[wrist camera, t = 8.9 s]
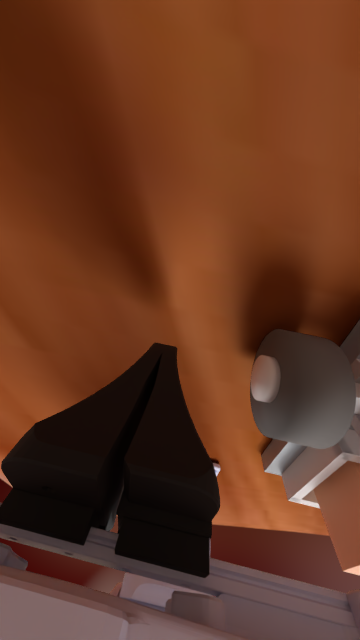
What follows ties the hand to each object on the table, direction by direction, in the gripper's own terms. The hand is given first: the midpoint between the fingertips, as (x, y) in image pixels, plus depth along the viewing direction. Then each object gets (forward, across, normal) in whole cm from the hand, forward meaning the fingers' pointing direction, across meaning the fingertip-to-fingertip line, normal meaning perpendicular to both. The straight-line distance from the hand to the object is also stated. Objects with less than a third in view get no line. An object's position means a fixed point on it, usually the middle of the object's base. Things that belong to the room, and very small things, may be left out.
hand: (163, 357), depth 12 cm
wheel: (+3, -9, 0) cm, 10 cm away
